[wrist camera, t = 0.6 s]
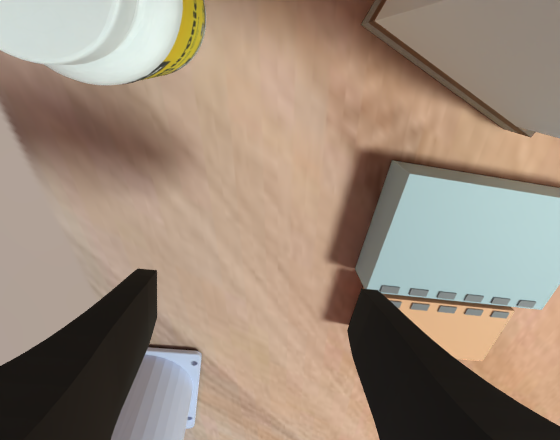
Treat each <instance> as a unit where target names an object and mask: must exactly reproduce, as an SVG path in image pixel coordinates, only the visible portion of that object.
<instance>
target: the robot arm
mask: <svg viewBox="0 0 560 440" xmlns="http://www.w3.org/2000/svg"><path fill="white" fill-rule="evenodd" d="M156 319H157V270H146V269H137V270H136V271H134V272H133V273H132V274H131V275H129V276H128V277H127V278H126V279H125V280H124V281H122V282H121V283H120V284H119V285H118V286H117V287H115V288H114V289H113V290H112V291H111V292H109V293H108V294H107V295H106V296H104V297H103V298H102V299H101V300H99V301H98V302H97V303H96V304H94V305H93V306H92V307H91V308H89V309H88V310H87V311H86V312H84V313H83V314H81V315H80V316H79V317H77V318H76V319H75V320H73V321H72V322H70V323H69V324H68V325H66V326H65V327H64V328H62V329H61V330H59V331H58V332H56V333H55V334H53V335H52V336H50V337H49V338H48V339H46V340H44V341H43V342H41V343H39V344H38V345H36V346H35V347H33V348H31V349H30V350H29V351H27V352H25V353H23V354H21V355H20V356H18V357H16V358H14V359H13V360H11V361H9V362H7V363H5V364H3V365H2V366H0V440H183V439H184V434H185V429H186V428H192V427H194V424H195V416H196V406H197V396H198V386H199V377H200V367H201V357H202V355H201V353H200V352H198V351H193V350H178V349H164V348H150V347H148V346H149V343H150V340H151V336H152V333H153V330H154V326H155V322H156ZM347 331H348V336H349V342H350V347H351V351H352V356H353V359H354V363H355V366H356V369H357V372H358V375H359V378H360V381H361V383H362V386H363V389H364V392H365V395H366V398H367V401H368V404H369V407H370V410H371V413H372V415H373V418H374V422H375V425H376V428H377V431H378V435H379V439H380V440H560V426H558V425H556V424H555V423H553V422H551V421H549V420H547V419H546V418H544V417H542V416H540V415H539V414H537V413H535V412H534V411H532V410H530V409H529V408H527V407H525V406H524V405H522V404H520V403H519V402H517V401H516V400H514V399H513V398H511V397H509V396H508V395H506V394H505V393H503V392H502V391H500V390H499V389H497V388H495V387H494V386H493V385H491V384H490V383H488V382H487V381H485V380H484V379H482V378H481V377H480V376H478V375H477V374H475V373H474V372H473V371H471V370H470V369H469V368H467V367H466V366H465V365H463V364H462V363H461V362H459V361H458V360H457V359H455V358H454V357H453V356H452V355H450V354H449V353H448V352H447V351H445V350H444V349H443V348H442V347H441V346H439V345H438V344H437V343H436V342H435V341H433V340H432V339H431V338H430V337H429V336H428V335H427V334H425V333H424V332H423V331H422V330H421V329H420V328H419V327H418V326H417V325H415V324H414V323H413V322H412V321H411V320H410V319H409V318H408V317H407V316H406V315H405V314H404V313H402V312H401V311H400V310H399V309H398V308H397V307H396V306H395V305H394V304H393V303H392V302H391V301H390V300H388V299H387V298H386V297H385V296H384V295H383V294H382V293H381V292H379V291H378V290H372V289H361V292H360V295H359V298H358V301H357V304H356V307H355V310H354V312H353V315H352V318H351V321H350V324H349V327H348V330H347Z"/></svg>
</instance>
